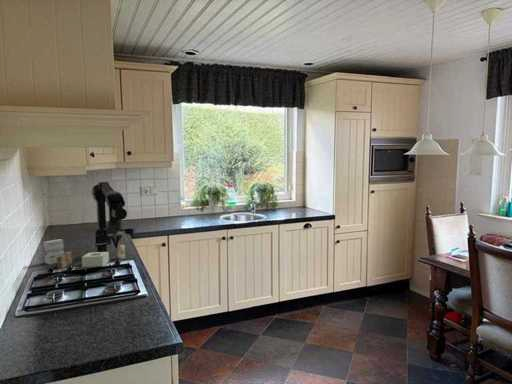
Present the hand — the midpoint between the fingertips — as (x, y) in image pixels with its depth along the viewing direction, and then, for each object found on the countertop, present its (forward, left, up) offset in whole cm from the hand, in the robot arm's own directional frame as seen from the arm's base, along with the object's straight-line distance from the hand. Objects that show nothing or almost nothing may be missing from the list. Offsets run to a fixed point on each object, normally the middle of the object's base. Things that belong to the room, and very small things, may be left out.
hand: (116, 248), depth 196 cm
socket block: (0, -11, -8) cm, 13 cm away
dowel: (-11, -1, -9) cm, 15 cm away
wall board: (0, -11, -9) cm, 14 cm away
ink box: (-13, -37, -9) cm, 40 cm away
